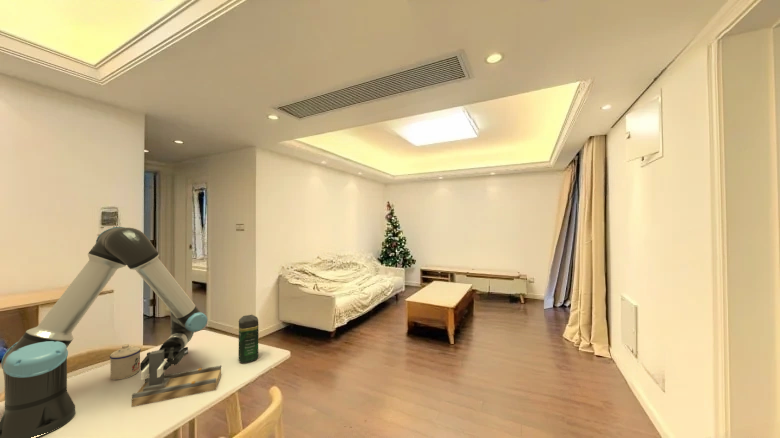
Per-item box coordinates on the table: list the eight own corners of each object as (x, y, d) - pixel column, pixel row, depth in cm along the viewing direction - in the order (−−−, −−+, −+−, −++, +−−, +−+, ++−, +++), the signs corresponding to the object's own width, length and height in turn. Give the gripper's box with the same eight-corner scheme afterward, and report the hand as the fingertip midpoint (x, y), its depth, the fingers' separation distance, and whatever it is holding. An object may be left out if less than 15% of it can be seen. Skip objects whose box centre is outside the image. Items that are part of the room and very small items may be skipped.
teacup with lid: (138, 375, 111) (138, 346, 111) (106, 383, 106) (106, 352, 106) (143, 363, 121) (143, 336, 121) (114, 369, 116) (114, 341, 116)
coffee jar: (259, 360, 123) (259, 318, 123) (239, 365, 119) (239, 321, 119) (256, 351, 131) (256, 312, 131) (237, 356, 127) (237, 315, 127)
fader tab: (143, 391, 96) (143, 356, 96) (149, 383, 101) (149, 350, 101) (164, 387, 99) (164, 353, 99) (169, 380, 103) (169, 347, 103)
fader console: (131, 406, 93) (131, 394, 93) (145, 388, 103) (145, 377, 103) (215, 389, 102) (215, 378, 102) (221, 374, 112) (221, 364, 112)
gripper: (197, 351, 120) (180, 380, 98) (148, 358, 113) (118, 391, 92) (197, 333, 120) (180, 358, 98) (148, 340, 113) (118, 368, 92)
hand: (150, 374), depth 95 cm, fingers closed on fader tab, 4 cm apart
